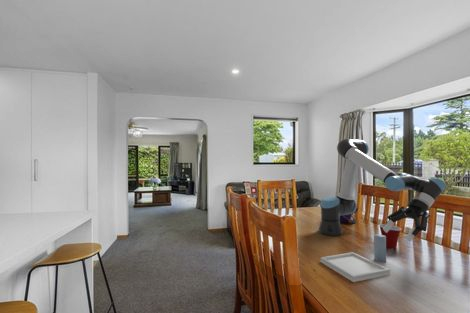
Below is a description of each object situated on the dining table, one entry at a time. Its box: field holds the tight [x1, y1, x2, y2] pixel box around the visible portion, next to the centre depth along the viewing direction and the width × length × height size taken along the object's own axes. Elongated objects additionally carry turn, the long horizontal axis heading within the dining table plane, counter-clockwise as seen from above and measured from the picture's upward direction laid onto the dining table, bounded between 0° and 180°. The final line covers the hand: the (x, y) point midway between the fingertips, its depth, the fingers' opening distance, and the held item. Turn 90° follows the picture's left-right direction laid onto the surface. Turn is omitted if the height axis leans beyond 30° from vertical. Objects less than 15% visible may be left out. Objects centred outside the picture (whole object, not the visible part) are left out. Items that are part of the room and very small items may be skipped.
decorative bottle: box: [340, 208, 359, 224], centre depth 188 cm, size 22×21×25 cm
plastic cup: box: [378, 223, 403, 250], centre depth 132 cm, size 11×11×12 cm
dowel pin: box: [373, 234, 387, 263], centre depth 115 cm, size 5×5×12 cm
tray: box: [320, 251, 391, 283], centre depth 107 cm, size 20×20×2 cm
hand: (395, 235), depth 116 cm, fingers open, 13 cm apart
